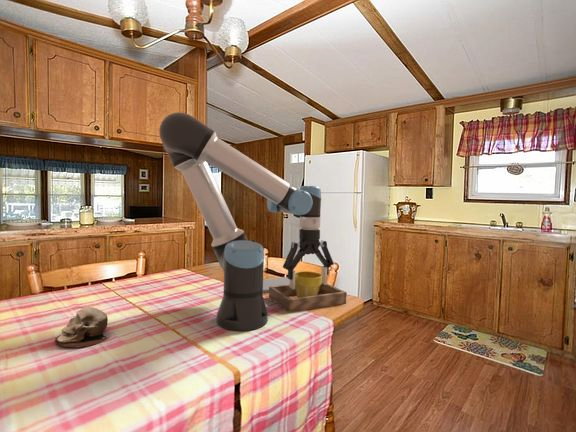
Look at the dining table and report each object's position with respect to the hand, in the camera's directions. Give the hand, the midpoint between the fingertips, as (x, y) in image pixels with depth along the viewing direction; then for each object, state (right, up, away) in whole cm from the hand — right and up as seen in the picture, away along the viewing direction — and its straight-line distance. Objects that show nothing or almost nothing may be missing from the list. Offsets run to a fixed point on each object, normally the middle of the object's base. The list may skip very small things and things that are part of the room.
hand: (308, 286), depth 114 cm
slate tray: (-13, -4, +17) cm, 22 cm away
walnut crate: (-1, -5, 0) cm, 5 cm away
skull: (-59, -6, -35) cm, 69 cm away
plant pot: (-1, -6, 0) cm, 6 cm away
